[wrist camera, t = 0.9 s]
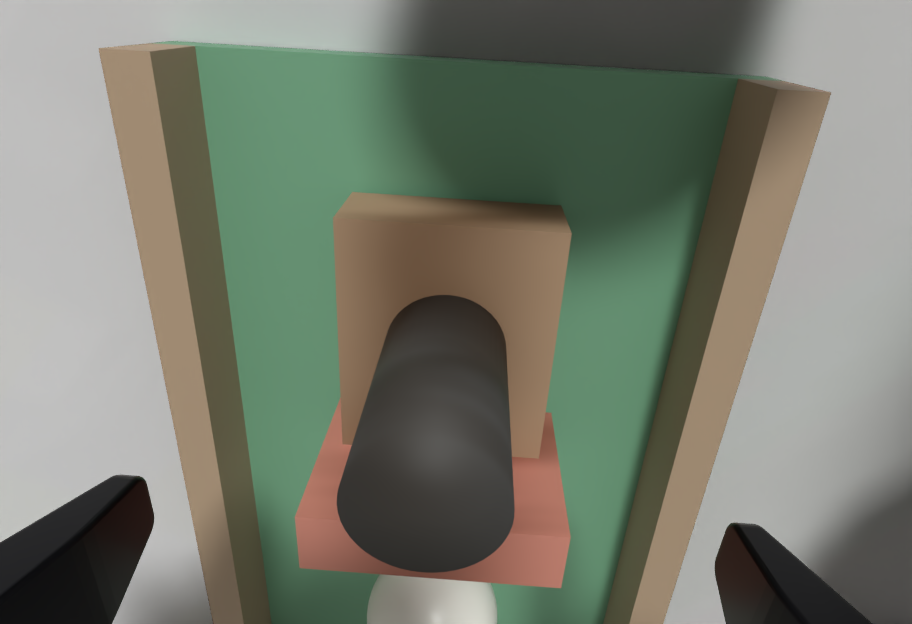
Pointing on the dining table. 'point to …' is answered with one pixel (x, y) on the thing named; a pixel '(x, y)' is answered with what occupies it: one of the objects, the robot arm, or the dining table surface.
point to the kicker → (442, 394)
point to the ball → (430, 601)
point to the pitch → (459, 177)
